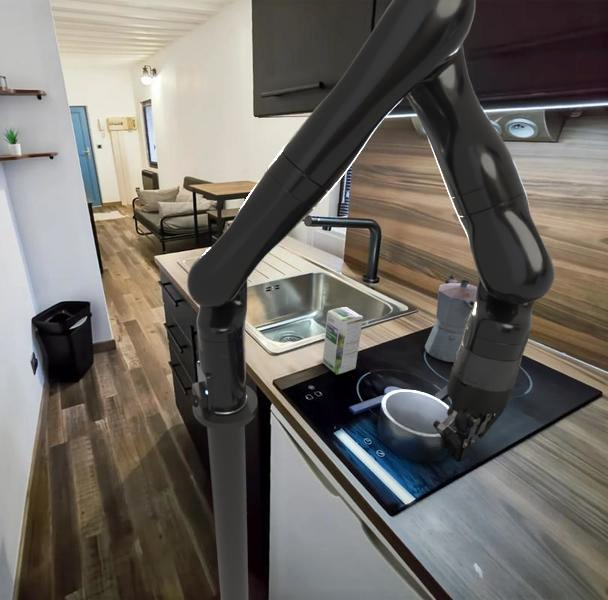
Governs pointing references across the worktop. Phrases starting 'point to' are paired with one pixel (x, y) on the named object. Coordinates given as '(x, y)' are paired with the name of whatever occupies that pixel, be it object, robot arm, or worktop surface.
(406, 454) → the saucepan
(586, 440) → the worktop surface
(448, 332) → the moka pot
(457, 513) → the worktop surface
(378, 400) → the spoon
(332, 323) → the syrup box
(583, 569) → the worktop surface
